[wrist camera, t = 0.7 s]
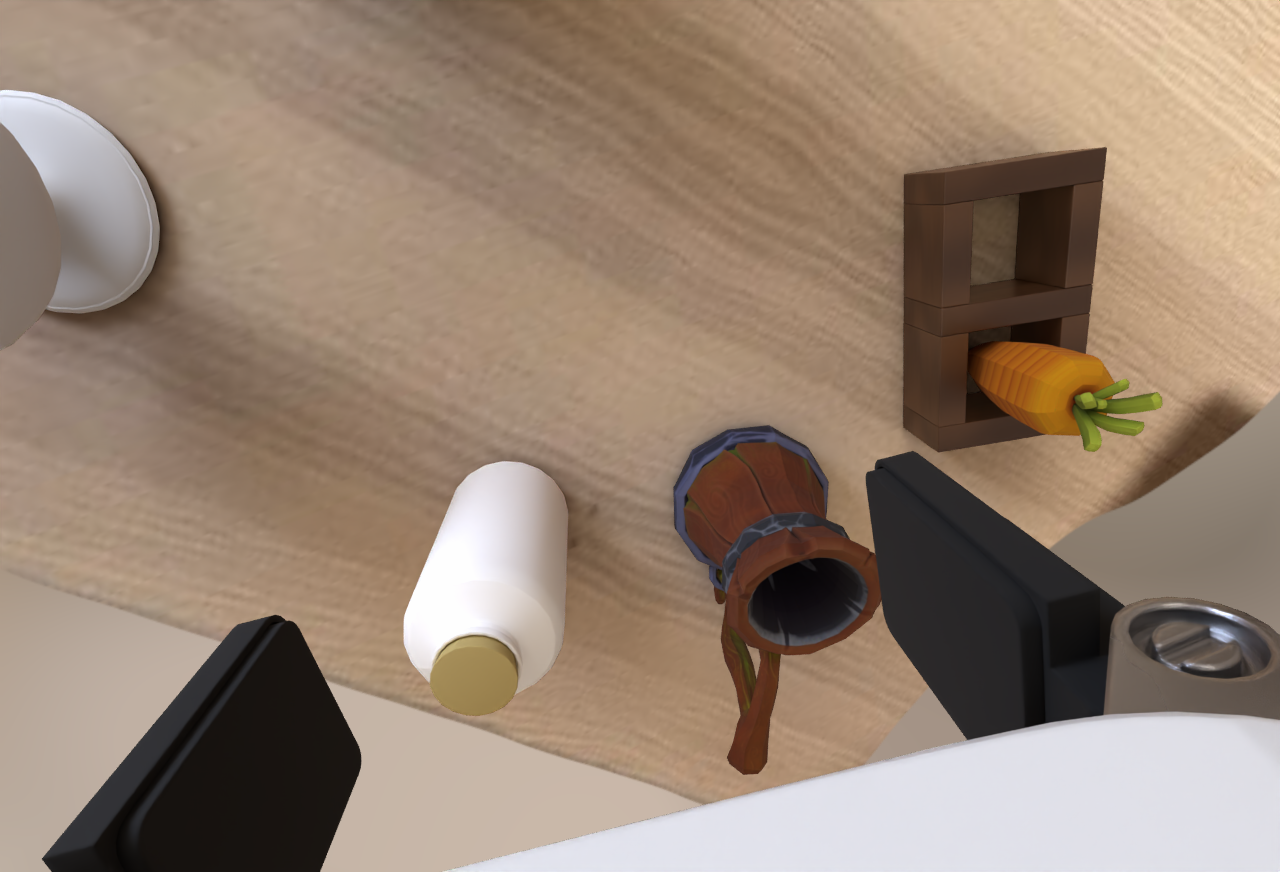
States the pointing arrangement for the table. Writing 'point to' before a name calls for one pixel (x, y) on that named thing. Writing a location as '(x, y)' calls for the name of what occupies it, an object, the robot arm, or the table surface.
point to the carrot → (1056, 390)
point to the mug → (770, 564)
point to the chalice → (67, 214)
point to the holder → (1031, 303)
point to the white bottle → (492, 590)
